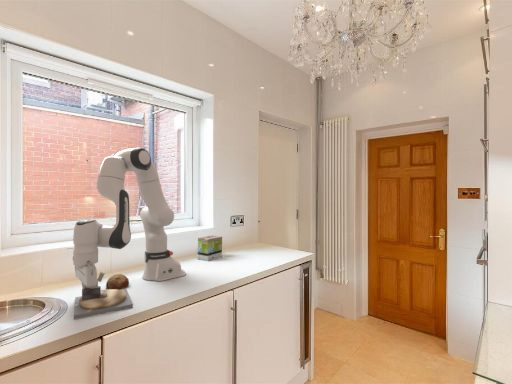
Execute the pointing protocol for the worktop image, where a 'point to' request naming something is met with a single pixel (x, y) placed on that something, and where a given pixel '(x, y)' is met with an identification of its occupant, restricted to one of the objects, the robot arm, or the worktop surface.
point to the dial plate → (84, 312)
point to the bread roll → (117, 282)
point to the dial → (100, 297)
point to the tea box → (209, 248)
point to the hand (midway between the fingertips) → (85, 292)
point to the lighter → (99, 278)
